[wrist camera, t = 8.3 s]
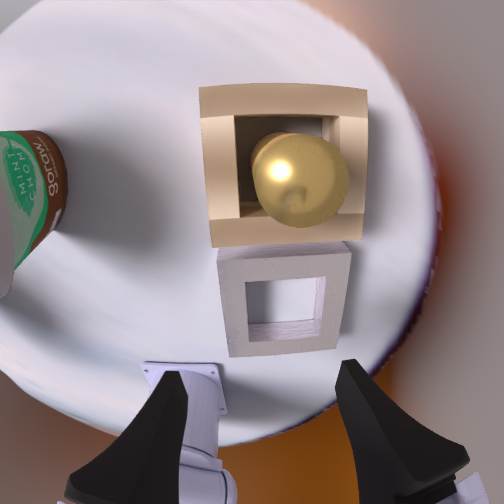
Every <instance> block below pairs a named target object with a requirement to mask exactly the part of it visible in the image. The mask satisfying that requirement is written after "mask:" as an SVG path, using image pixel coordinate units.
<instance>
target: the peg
mask: <svg viewBox="0 0 504 504" xmlns="http://www.w3.org/2000/svg"><path fill="white" fill-rule="evenodd" d="M250 165H251V171H252V175H253V180H254V184H255V189H256V193H257V197H258V199H259V202H260V204H261V205H262V207H263V208H264V210H265V211H266V212H267V213H268V214H269V215H270V216H271V217H272V218H273V219H275V220H276V221H278V222H279V223H281V224H284V225H286V226H290V227H295V228H307V227H313V226H316V225H319V224H321V223H323V222H325V221H327V220H328V219H330V218H331V217H332V216H333V215H334V214H336V212H337V211H338V210H339V209H340V207H341V206H342V204H343V203H344V201H345V198H346V196H347V193H348V188H349V173H348V168H347V165H346V163H345V160H344V158H343V157H342V155H341V153H340V152H339V151H338V150H337V149H336V148H335V147H334V146H333V145H332V144H331V143H329V142H328V141H326V140H324V139H322V138H320V137H317V136H313V135H307V134H297V133H286V132H276V133H271V134H269V135H267V136H265V137H263V138H262V139H261V140H259V141H258V143H257V144H256V145H255V147H254V148H253V151H252V153H251V158H250Z"/></svg>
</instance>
